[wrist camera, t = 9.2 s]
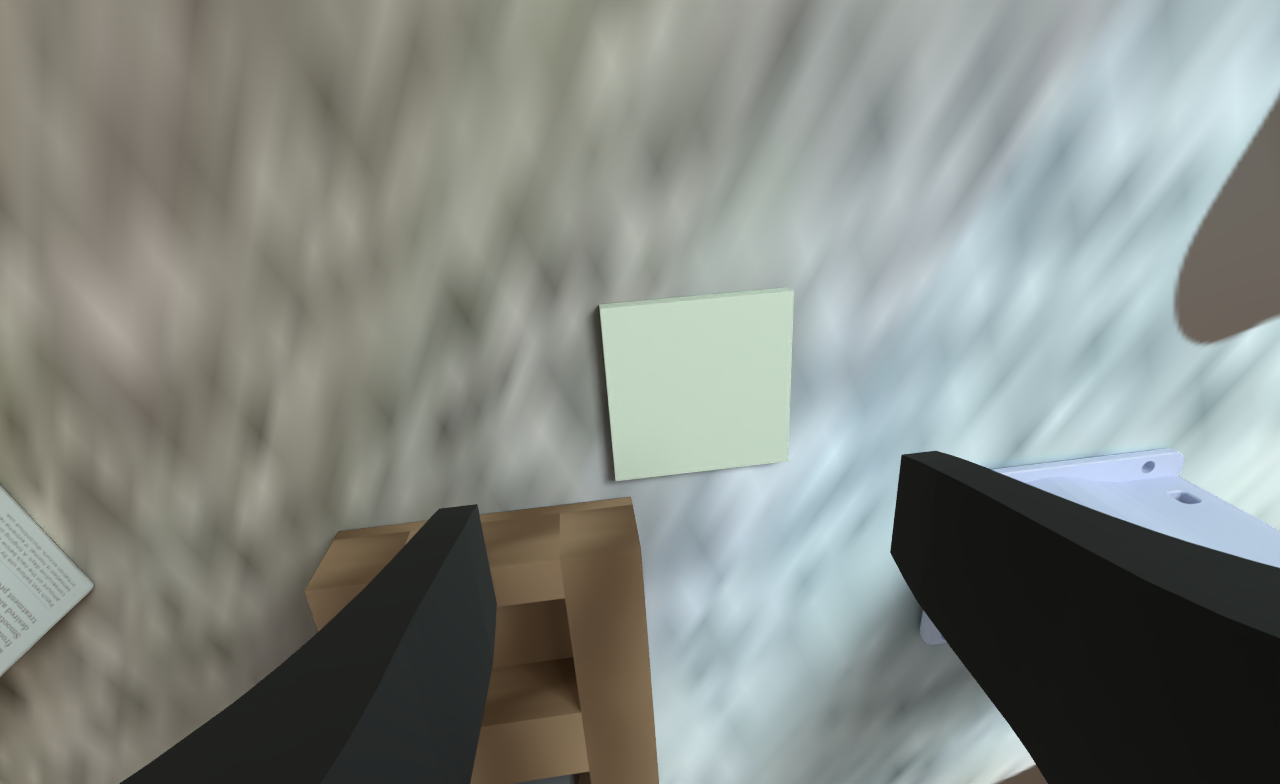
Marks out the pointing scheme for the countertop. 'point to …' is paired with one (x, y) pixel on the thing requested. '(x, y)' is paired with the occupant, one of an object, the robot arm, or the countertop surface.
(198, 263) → the countertop surface
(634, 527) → the divided box
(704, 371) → the coaster
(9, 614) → the small box
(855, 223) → the countertop surface
